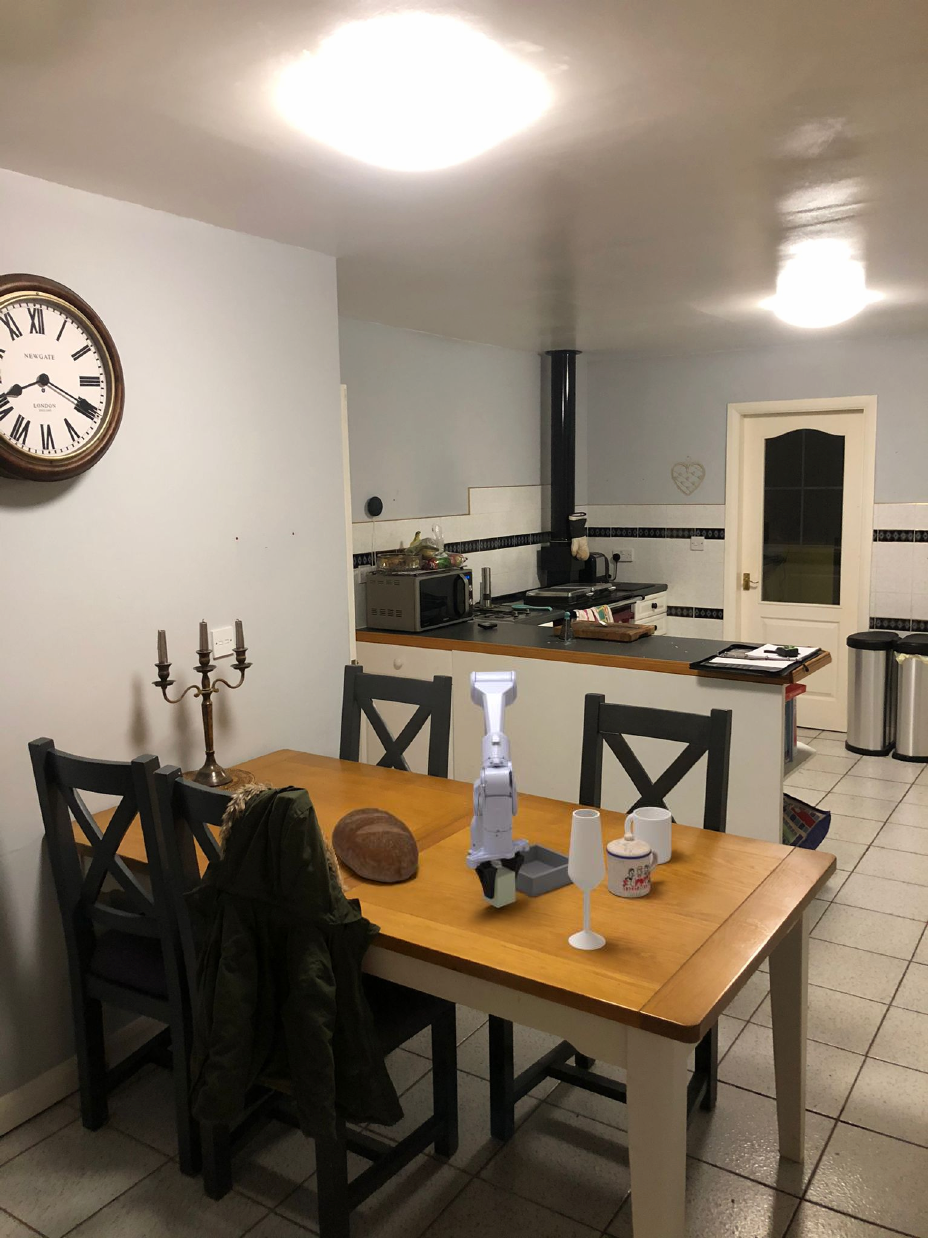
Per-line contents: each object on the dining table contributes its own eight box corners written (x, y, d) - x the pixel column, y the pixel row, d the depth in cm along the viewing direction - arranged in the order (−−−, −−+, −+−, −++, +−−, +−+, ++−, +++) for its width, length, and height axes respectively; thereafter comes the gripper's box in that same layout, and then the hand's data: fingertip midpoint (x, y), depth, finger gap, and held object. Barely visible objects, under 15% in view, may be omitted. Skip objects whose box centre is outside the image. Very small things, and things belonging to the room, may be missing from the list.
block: (483, 900, 187) (482, 871, 187) (500, 894, 190) (499, 865, 189) (497, 907, 184) (497, 878, 183) (515, 901, 187) (514, 872, 186)
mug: (613, 852, 214) (612, 808, 213) (638, 843, 219) (638, 800, 218) (653, 868, 205) (653, 822, 204) (679, 858, 210) (679, 813, 208)
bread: (366, 893, 196) (364, 839, 195) (319, 847, 222) (317, 800, 220) (434, 877, 203) (433, 826, 202) (381, 835, 229) (379, 789, 228)
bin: (489, 877, 202) (489, 859, 202) (536, 860, 210) (536, 843, 210) (532, 897, 192) (532, 878, 191) (580, 879, 200) (580, 861, 199)
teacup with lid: (625, 902, 188) (625, 846, 187) (597, 886, 196) (597, 832, 195) (671, 889, 194) (672, 834, 193) (642, 874, 202) (642, 821, 200)
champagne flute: (602, 932, 176) (601, 806, 173) (608, 949, 169) (608, 819, 166) (565, 933, 176) (564, 808, 173) (571, 950, 169) (570, 820, 166)
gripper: (481, 842, 177) (483, 911, 179) (539, 823, 186) (540, 889, 188) (458, 831, 183) (460, 899, 185) (515, 814, 192) (516, 879, 194)
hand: (498, 893), depth 187 cm, fingers closed on block, 4 cm apart
